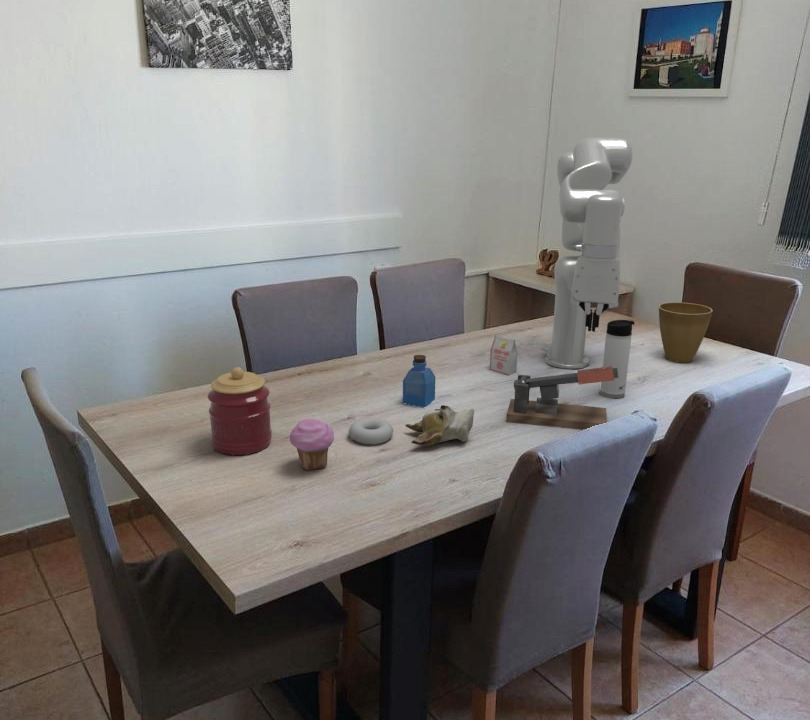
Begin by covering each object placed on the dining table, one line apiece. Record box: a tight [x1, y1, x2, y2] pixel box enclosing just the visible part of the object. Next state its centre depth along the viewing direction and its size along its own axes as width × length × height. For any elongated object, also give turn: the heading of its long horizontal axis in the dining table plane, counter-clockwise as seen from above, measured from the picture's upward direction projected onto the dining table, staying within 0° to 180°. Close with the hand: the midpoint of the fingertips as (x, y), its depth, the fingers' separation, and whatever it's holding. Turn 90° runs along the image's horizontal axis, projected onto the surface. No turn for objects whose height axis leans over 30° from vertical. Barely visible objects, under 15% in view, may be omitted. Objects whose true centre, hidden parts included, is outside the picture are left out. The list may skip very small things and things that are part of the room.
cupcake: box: [289, 418, 335, 471], centre depth 146 cm, size 9×9×10 cm
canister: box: [207, 366, 273, 456], centre depth 154 cm, size 13×13×18 cm
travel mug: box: [599, 319, 635, 399], centre depth 184 cm, size 6×7×20 cm
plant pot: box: [658, 301, 713, 364], centre depth 213 cm, size 15×15×16 cm
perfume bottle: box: [402, 354, 436, 408], centre depth 179 cm, size 6×6×12 cm
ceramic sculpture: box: [404, 404, 475, 447], centre depth 158 cm, size 11×9×15 cm
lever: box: [513, 366, 619, 400], centre depth 168 cm, size 24×4×5 cm, turn 76°
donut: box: [348, 417, 394, 446], centre depth 160 cm, size 10×4×10 cm
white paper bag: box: [489, 334, 519, 376], centre depth 202 cm, size 4×7×10 cm, turn 45°
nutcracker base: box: [505, 374, 608, 430], centre depth 170 cm, size 23×10×9 cm, turn 76°
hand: (591, 329), depth 165 cm, fingers closed
